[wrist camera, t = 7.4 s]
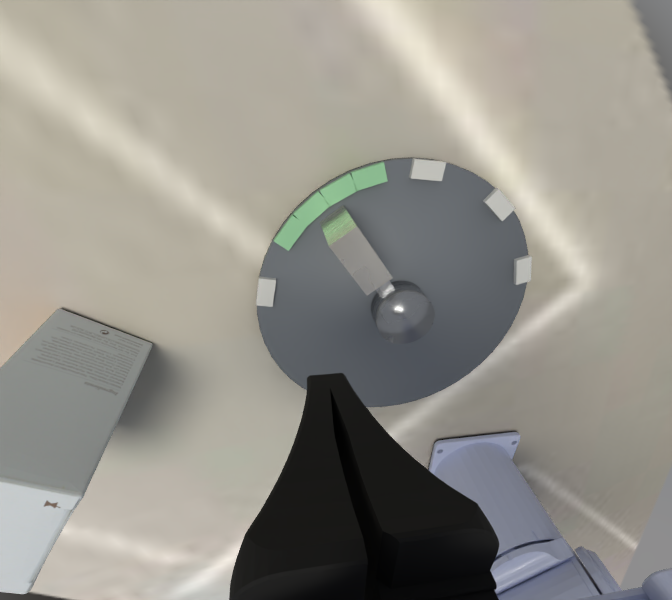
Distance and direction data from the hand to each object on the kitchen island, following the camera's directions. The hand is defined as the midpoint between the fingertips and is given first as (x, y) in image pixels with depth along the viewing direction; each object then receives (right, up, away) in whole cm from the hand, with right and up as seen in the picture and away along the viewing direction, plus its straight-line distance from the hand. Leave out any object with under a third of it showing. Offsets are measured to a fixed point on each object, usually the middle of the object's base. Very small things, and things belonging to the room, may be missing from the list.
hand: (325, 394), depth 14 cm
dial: (+4, +4, +11) cm, 12 cm away
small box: (-16, -1, +10) cm, 19 cm away
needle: (+3, +5, +9) cm, 11 cm away
